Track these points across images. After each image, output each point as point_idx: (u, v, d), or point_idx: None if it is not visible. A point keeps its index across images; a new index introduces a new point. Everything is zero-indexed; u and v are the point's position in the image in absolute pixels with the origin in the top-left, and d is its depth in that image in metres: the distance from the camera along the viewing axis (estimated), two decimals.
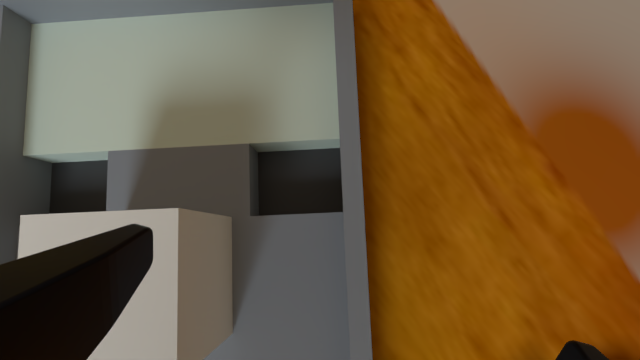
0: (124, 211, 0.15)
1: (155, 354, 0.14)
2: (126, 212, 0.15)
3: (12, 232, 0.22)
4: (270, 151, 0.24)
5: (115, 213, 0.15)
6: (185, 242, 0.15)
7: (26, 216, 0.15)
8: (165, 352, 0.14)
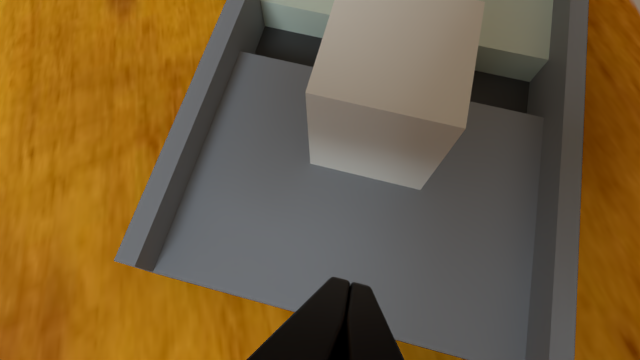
0: None
1: (448, 102, 0.15)
2: None
3: (237, 52, 0.24)
4: None
5: None
6: None
7: None
8: (458, 102, 0.15)
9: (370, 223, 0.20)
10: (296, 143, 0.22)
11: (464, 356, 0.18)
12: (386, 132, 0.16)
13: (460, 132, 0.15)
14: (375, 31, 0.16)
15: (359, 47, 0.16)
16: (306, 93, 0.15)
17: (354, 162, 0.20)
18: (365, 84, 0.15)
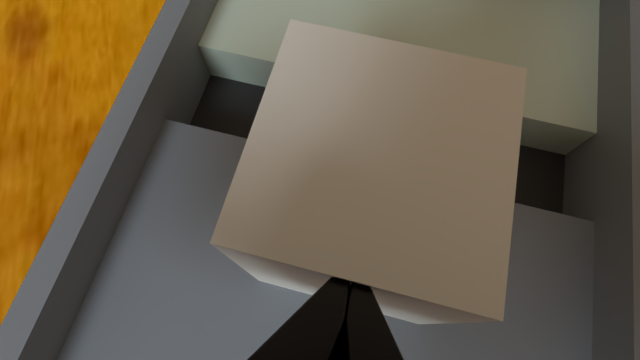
0: (443, 52, 0.10)
1: (469, 264, 0.08)
2: (446, 54, 0.10)
3: (158, 121, 0.17)
4: None
5: (430, 51, 0.10)
6: None
7: (297, 23, 0.10)
8: (488, 264, 0.08)
9: None
10: None
11: None
12: None
13: (491, 320, 0.08)
14: (340, 121, 0.09)
15: (312, 152, 0.09)
16: (212, 243, 0.08)
17: None
18: (318, 226, 0.08)
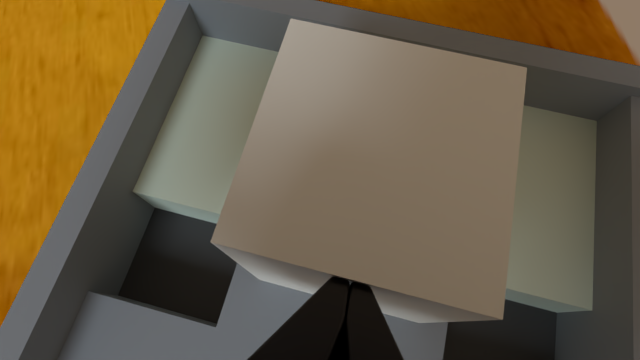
0: (443, 52, 0.10)
1: (469, 262, 0.08)
2: (446, 54, 0.10)
3: (79, 299, 0.14)
4: None
5: (430, 50, 0.10)
6: None
7: (298, 22, 0.10)
8: (487, 263, 0.08)
9: None
10: None
11: None
12: None
13: (491, 319, 0.08)
14: (341, 120, 0.09)
15: (312, 151, 0.09)
16: (213, 242, 0.08)
17: None
18: (318, 225, 0.08)
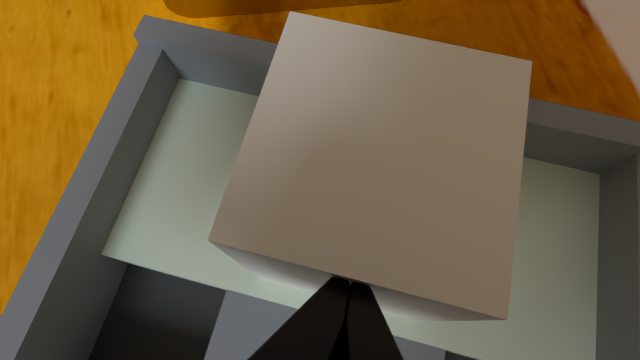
0: (446, 45, 0.10)
1: (472, 261, 0.08)
2: (449, 47, 0.10)
3: None
4: (447, 351, 0.16)
5: (433, 43, 0.10)
6: None
7: (297, 15, 0.10)
8: (492, 262, 0.08)
9: None
10: None
11: None
12: None
13: (496, 319, 0.08)
14: (341, 116, 0.09)
15: (312, 148, 0.09)
16: (210, 240, 0.08)
17: None
18: (319, 223, 0.08)
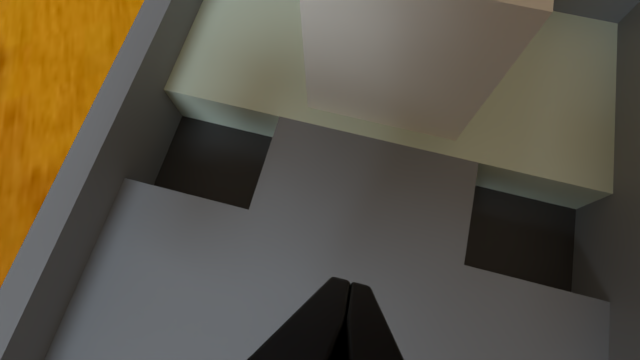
0: None
1: None
2: None
3: (116, 182, 0.15)
4: (475, 186, 0.17)
5: None
6: None
7: None
8: None
9: None
10: (201, 351, 0.13)
11: None
12: (420, 36, 0.11)
13: (541, 22, 0.09)
14: None
15: None
16: None
17: (367, 99, 0.14)
18: None
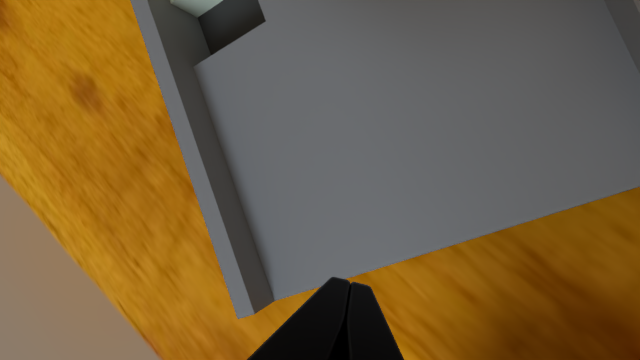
0: None
1: None
2: None
3: (190, 70, 0.22)
4: None
5: None
6: None
7: None
8: None
9: (417, 134, 0.18)
10: (299, 110, 0.20)
11: (602, 195, 0.15)
12: None
13: None
14: None
15: None
16: None
17: None
18: None
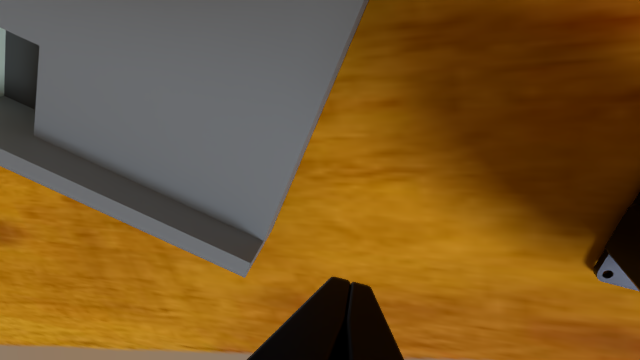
0: None
1: None
2: None
3: (34, 140, 0.21)
4: None
5: None
6: None
7: None
8: None
9: (226, 19, 0.17)
10: (134, 90, 0.19)
11: None
12: None
13: None
14: None
15: None
16: None
17: None
18: None
